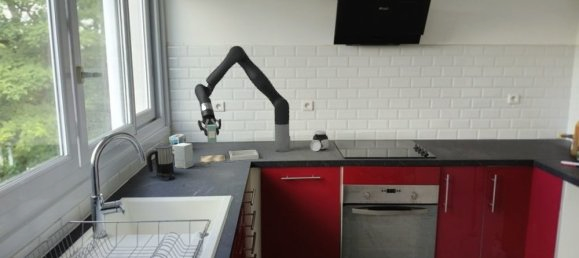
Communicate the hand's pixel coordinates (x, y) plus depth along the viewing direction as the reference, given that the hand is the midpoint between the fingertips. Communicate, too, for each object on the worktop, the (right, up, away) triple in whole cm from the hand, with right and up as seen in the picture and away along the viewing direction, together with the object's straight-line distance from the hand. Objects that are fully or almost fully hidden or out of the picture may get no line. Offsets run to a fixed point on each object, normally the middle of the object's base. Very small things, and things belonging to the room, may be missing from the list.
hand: (212, 134), depth 243 cm
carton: (-1, -4, +2) cm, 5 cm away
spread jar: (+64, -10, +25) cm, 69 cm away
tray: (+17, -14, +8) cm, 23 cm away
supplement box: (-14, -18, -10) cm, 24 cm away
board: (0, -15, +4) cm, 15 cm away
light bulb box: (-27, -11, +27) cm, 40 cm away
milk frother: (-19, -21, -27) cm, 39 cm away
